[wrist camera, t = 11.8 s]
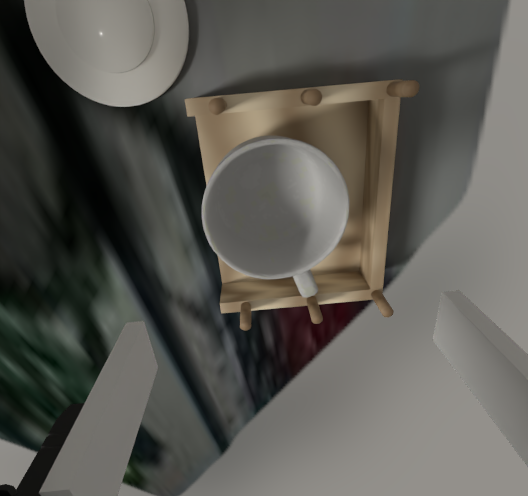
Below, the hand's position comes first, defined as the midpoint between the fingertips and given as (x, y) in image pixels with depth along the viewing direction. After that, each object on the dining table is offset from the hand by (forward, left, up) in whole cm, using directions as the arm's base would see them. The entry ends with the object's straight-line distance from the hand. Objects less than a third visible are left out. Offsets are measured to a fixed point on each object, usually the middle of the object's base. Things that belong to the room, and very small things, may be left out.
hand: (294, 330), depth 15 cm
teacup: (0, 0, -19) cm, 19 cm away
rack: (+2, 0, -20) cm, 20 cm away
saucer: (-11, +15, -20) cm, 28 cm away
